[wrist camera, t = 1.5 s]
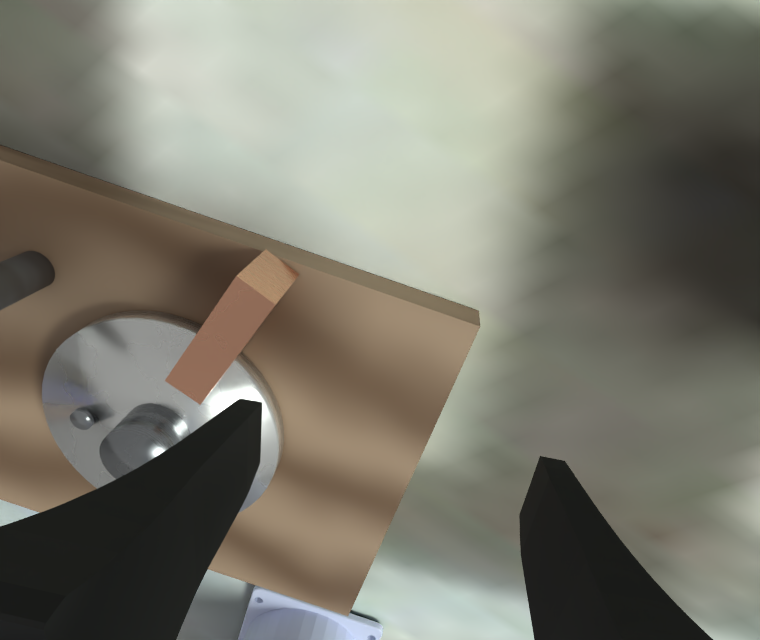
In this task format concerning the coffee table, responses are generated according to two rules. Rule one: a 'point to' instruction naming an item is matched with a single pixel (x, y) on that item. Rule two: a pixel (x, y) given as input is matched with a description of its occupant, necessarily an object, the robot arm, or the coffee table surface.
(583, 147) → the coffee table surface
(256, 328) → the flange plate
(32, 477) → the base board
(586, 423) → the coffee table surface
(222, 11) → the coffee table surface
